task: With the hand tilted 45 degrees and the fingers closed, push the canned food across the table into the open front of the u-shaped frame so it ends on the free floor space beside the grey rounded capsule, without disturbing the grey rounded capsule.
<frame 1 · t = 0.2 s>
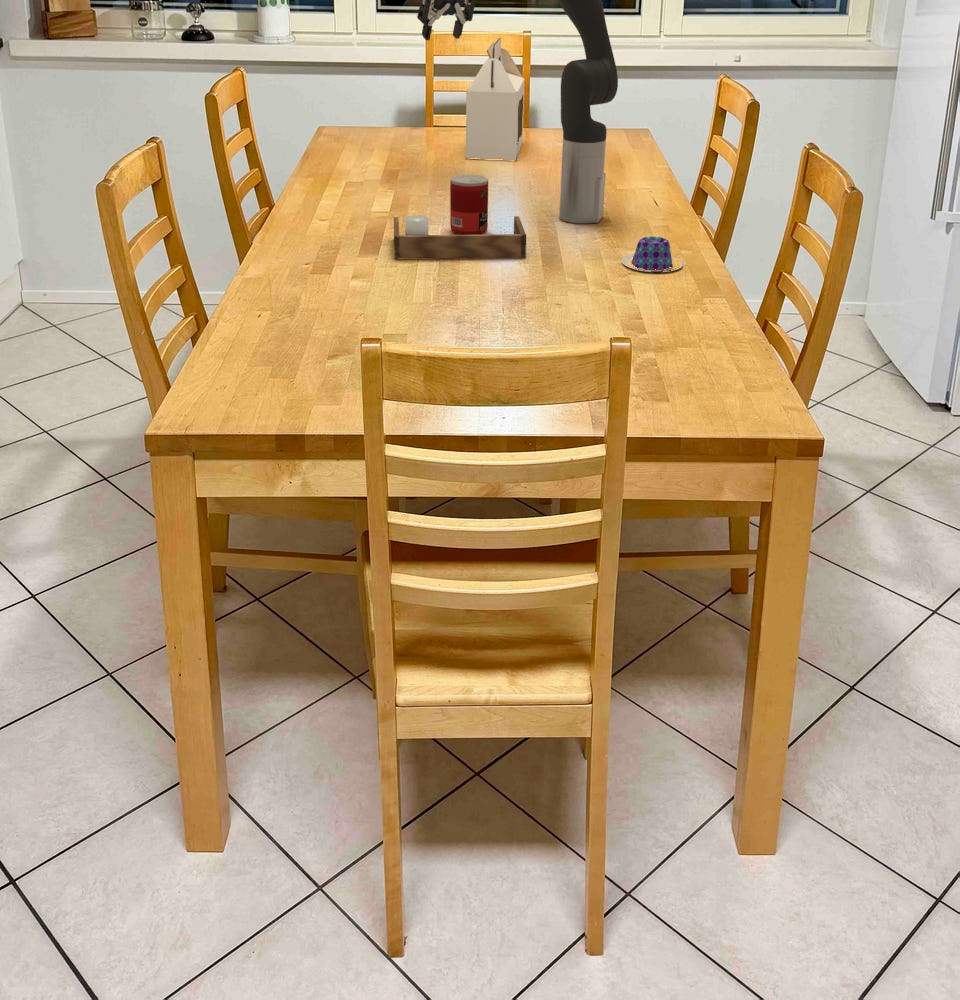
hand: (441, 38, 279), 31 cm above the table, tool tilted 20°, fingers open, 8 cm apart
gable box: (495, 152, 311), on the table
u-shaped frame: (458, 247, 234), on the table
canned food: (468, 231, 245), on the table
patterned hat: (651, 267, 226), on the table
grey rounded capsule: (417, 253, 231), on the table
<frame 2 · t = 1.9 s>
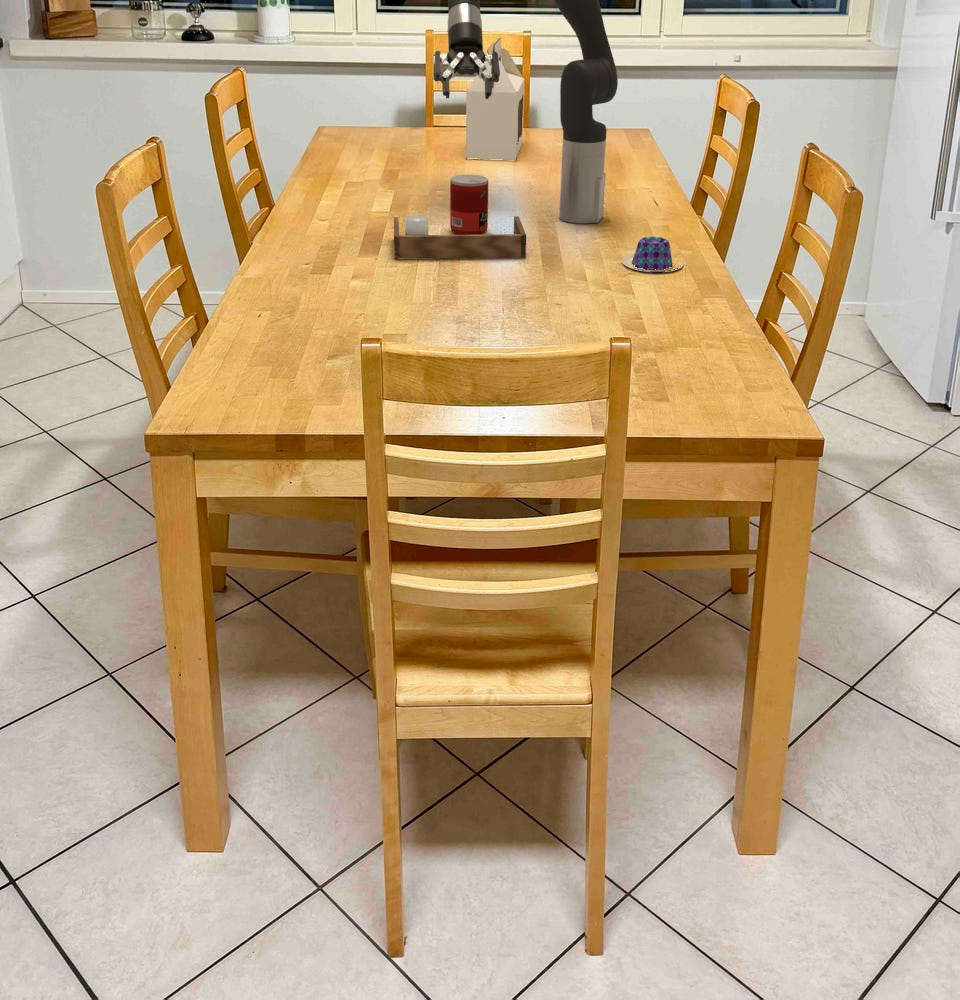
hand: (467, 96, 248), 24 cm above the table, tool tilted 45°, fingers open, 8 cm apart
nothing on the table moved.
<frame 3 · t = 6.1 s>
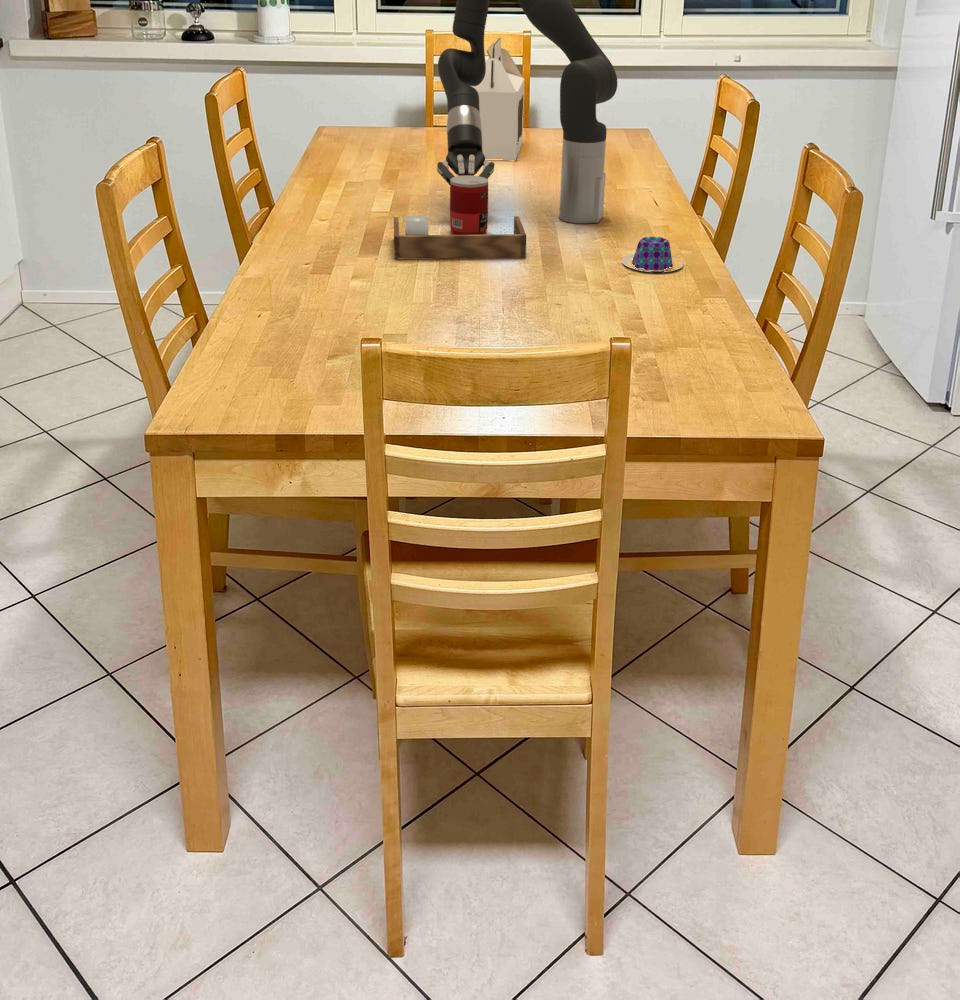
hand: (467, 203, 246), 5 cm above the table, tool tilted 45°, fingers closed
canned food: (468, 232, 244), on the table, touching gripper
everything else where it was.
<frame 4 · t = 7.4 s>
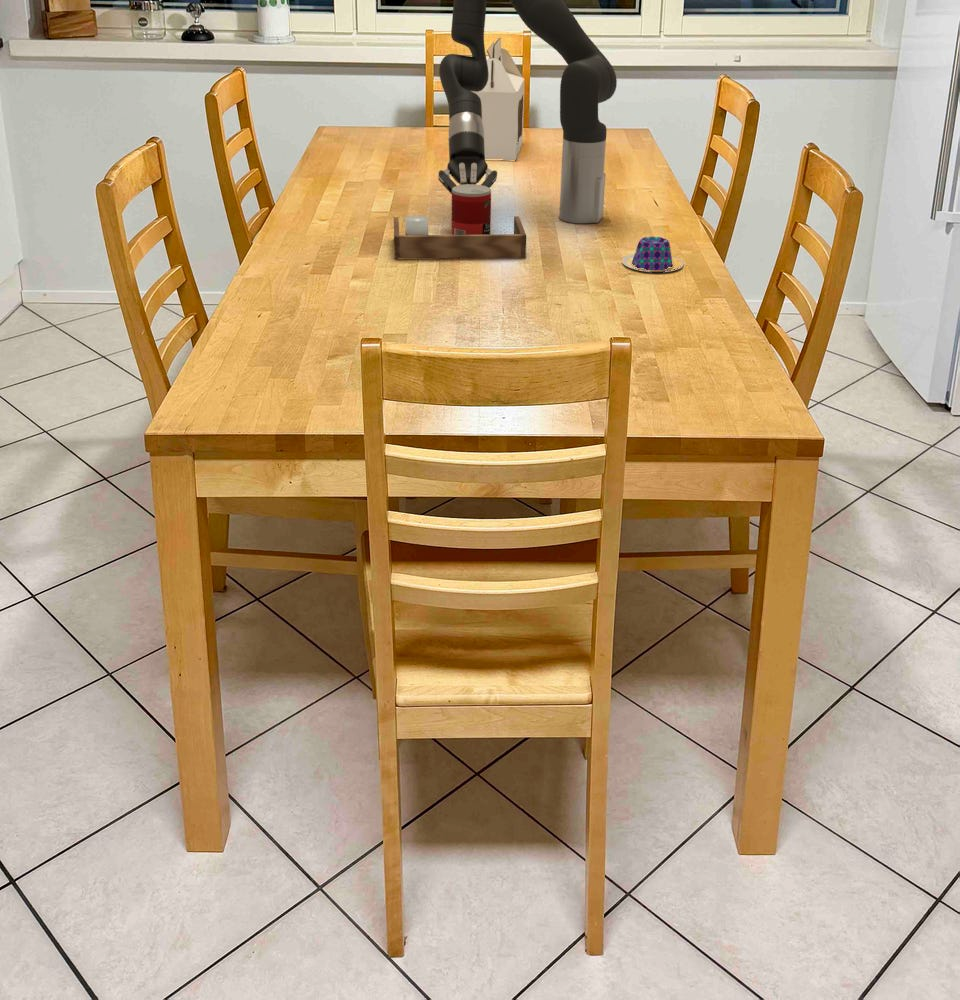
hand: (469, 213, 239), 5 cm above the table, tool tilted 45°, fingers closed
canned food: (470, 243, 238), on the table, touching gripper
everything else where it was.
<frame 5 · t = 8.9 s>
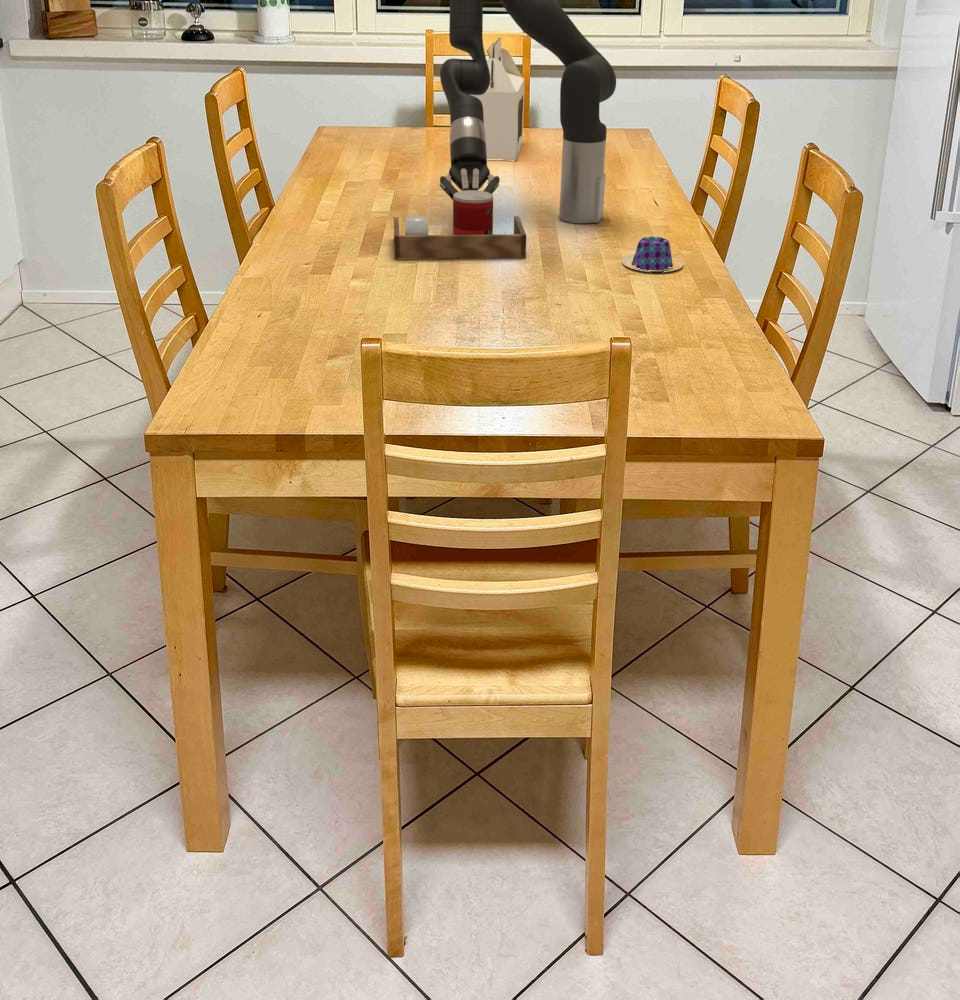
hand: (471, 219, 235), 5 cm above the table, tool tilted 45°, fingers closed
canned food: (472, 250, 233), on the table, touching gripper
everything else where it was.
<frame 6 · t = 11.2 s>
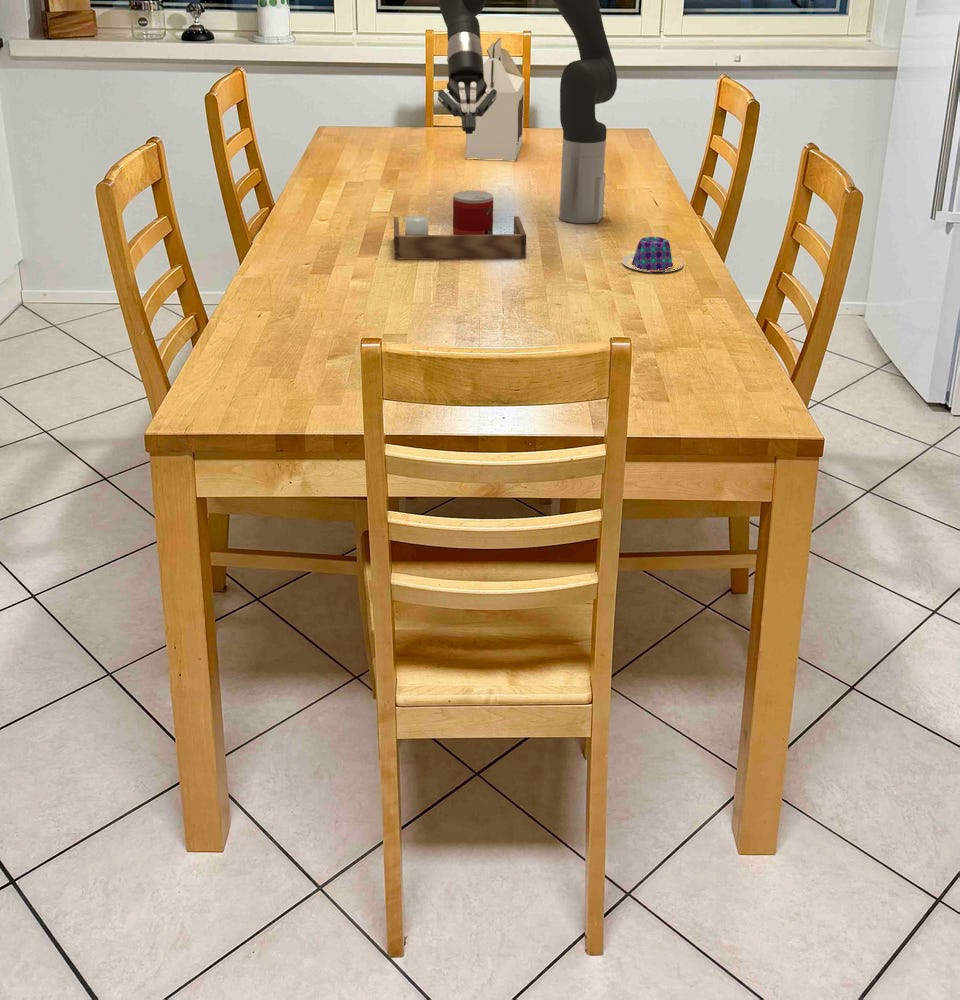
hand: (469, 131, 239), 20 cm above the table, tool tilted 45°, fingers closed
canned food: (472, 250, 233), on the table
everything else where it was.
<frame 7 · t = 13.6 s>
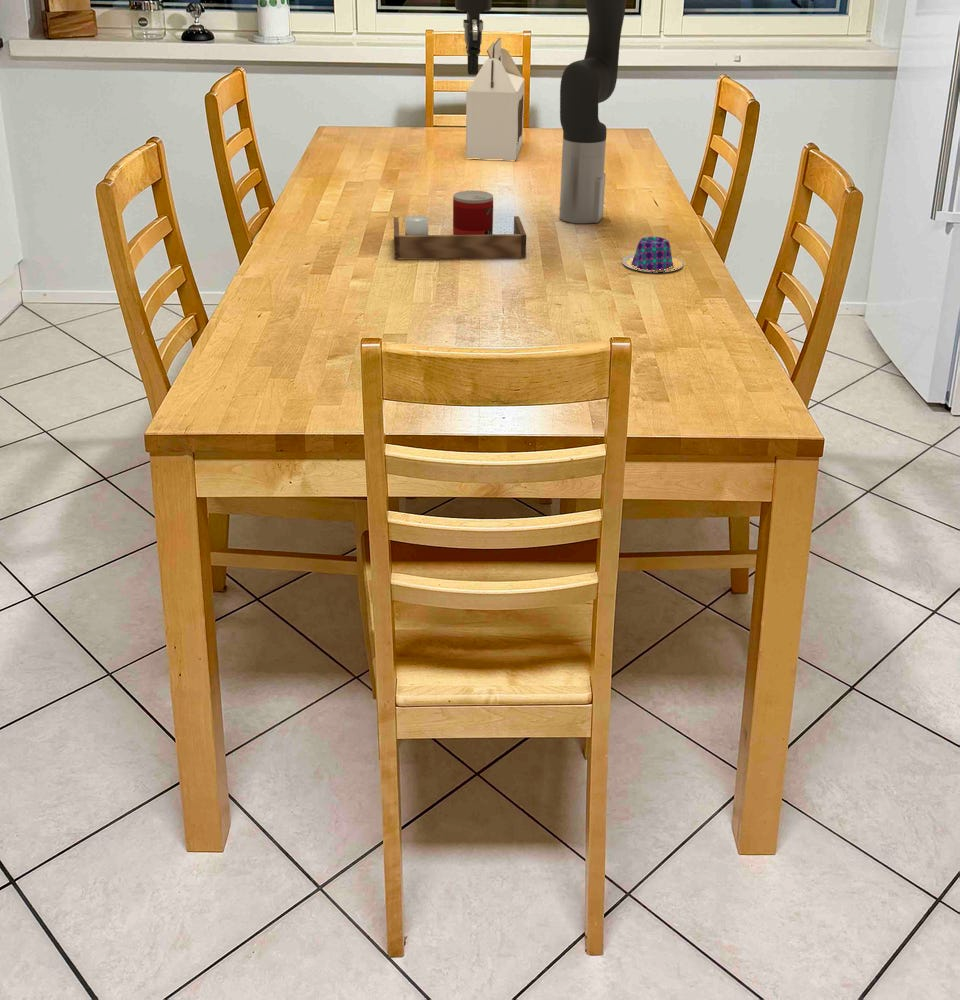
hand: (472, 74, 246), 29 cm above the table, tool pointing down, fingers closed
nothing on the table moved.
at the end: canned food inside the target area on the u-shaped frame (0.7 cm from its centre), point 0.0 cm above the u-shaped frame's base; canned food tilted 0°; grey rounded capsule moved 0.0 cm from its start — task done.
